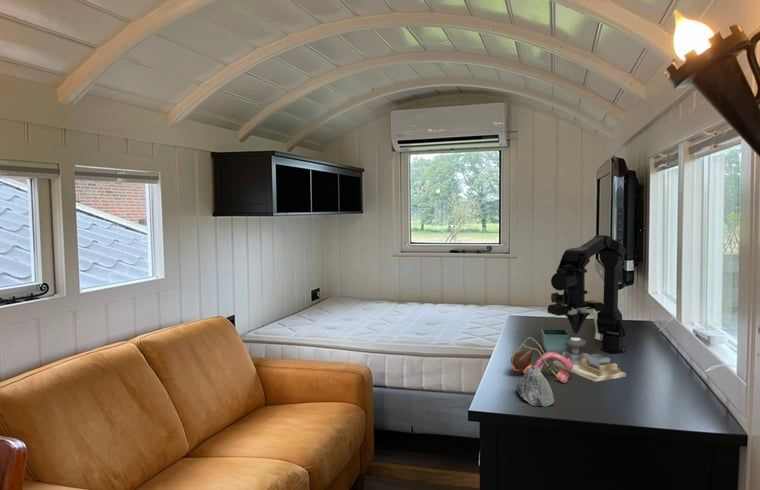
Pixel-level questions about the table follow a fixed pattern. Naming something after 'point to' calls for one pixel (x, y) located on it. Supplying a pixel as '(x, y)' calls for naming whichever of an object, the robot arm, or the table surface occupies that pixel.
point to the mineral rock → (535, 388)
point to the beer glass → (597, 335)
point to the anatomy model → (540, 361)
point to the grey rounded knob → (575, 344)
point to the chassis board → (588, 372)
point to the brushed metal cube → (598, 360)
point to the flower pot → (554, 340)
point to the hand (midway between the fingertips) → (575, 333)
